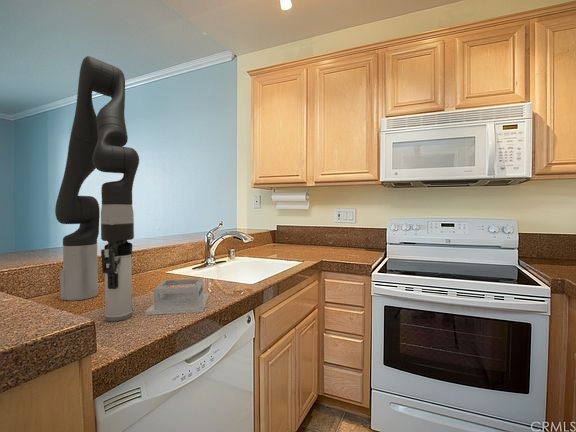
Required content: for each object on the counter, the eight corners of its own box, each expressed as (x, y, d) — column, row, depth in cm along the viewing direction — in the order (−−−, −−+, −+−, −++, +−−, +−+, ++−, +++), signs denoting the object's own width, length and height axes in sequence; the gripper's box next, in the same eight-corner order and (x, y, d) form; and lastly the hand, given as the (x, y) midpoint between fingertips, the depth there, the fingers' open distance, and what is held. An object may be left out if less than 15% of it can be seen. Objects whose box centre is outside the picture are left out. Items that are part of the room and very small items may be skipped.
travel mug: (137, 312, 82) (136, 240, 82) (124, 321, 75) (123, 243, 75) (114, 313, 82) (113, 241, 81) (99, 322, 75) (98, 243, 75)
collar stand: (145, 315, 80) (145, 291, 80) (160, 298, 95) (160, 278, 95) (202, 311, 82) (202, 288, 82) (208, 296, 97) (208, 276, 97)
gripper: (114, 221, 84) (115, 279, 85) (88, 223, 70) (89, 293, 70) (141, 220, 85) (142, 278, 86) (121, 223, 71) (123, 291, 72)
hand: (118, 284), depth 78 cm, fingers closed on travel mug, 6 cm apart
